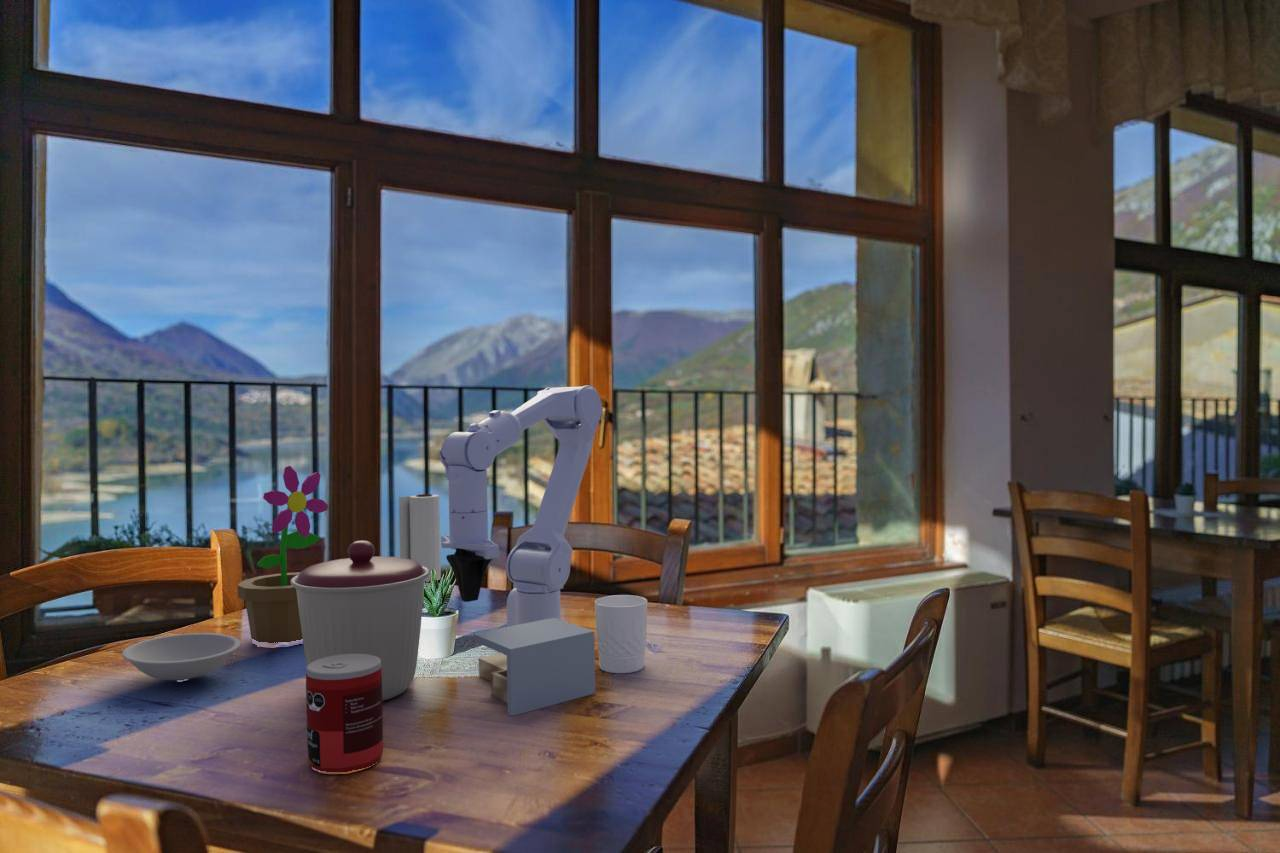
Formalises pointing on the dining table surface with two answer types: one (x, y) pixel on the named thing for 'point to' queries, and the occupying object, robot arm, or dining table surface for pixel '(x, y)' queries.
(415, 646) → the canister
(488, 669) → the wooden tray
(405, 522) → the paper towel roll
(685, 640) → the dining table surface
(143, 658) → the dish
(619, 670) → the white cup
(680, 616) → the dining table surface
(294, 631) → the flowerpot
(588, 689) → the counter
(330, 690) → the canned food
